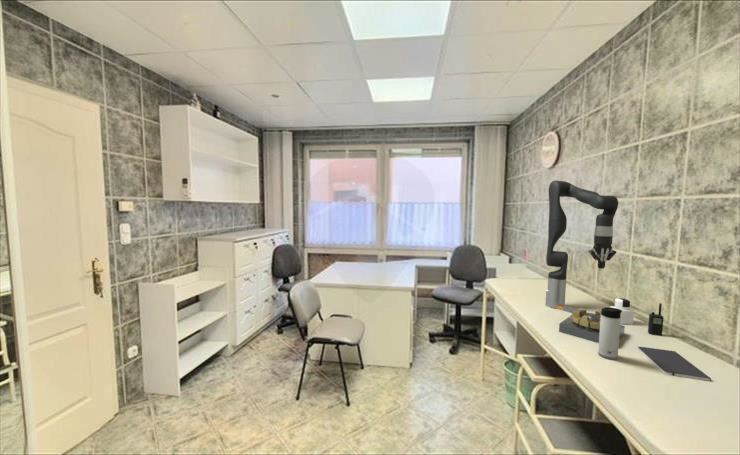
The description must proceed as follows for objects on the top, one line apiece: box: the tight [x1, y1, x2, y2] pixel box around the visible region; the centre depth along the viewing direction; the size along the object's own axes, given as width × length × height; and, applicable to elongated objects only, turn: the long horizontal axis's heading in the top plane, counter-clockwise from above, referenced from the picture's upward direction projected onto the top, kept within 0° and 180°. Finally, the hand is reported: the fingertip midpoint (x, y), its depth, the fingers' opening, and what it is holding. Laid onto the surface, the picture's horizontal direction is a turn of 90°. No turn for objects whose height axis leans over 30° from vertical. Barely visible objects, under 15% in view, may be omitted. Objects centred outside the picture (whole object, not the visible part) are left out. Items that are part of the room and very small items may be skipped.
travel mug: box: [597, 306, 622, 361], centre depth 124 cm, size 6×7×20 cm
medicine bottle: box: [609, 297, 635, 325], centre depth 162 cm, size 7×7×12 cm
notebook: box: [637, 346, 712, 382], centre depth 120 cm, size 13×2×21 cm
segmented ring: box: [556, 304, 601, 329], centre depth 150 cm, size 16×24×4 cm
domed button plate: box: [558, 312, 626, 344], centre depth 147 cm, size 21×21×8 cm
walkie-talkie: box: [647, 303, 664, 337], centre depth 146 cm, size 5×3×15 cm
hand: (601, 268), depth 159 cm, fingers closed
